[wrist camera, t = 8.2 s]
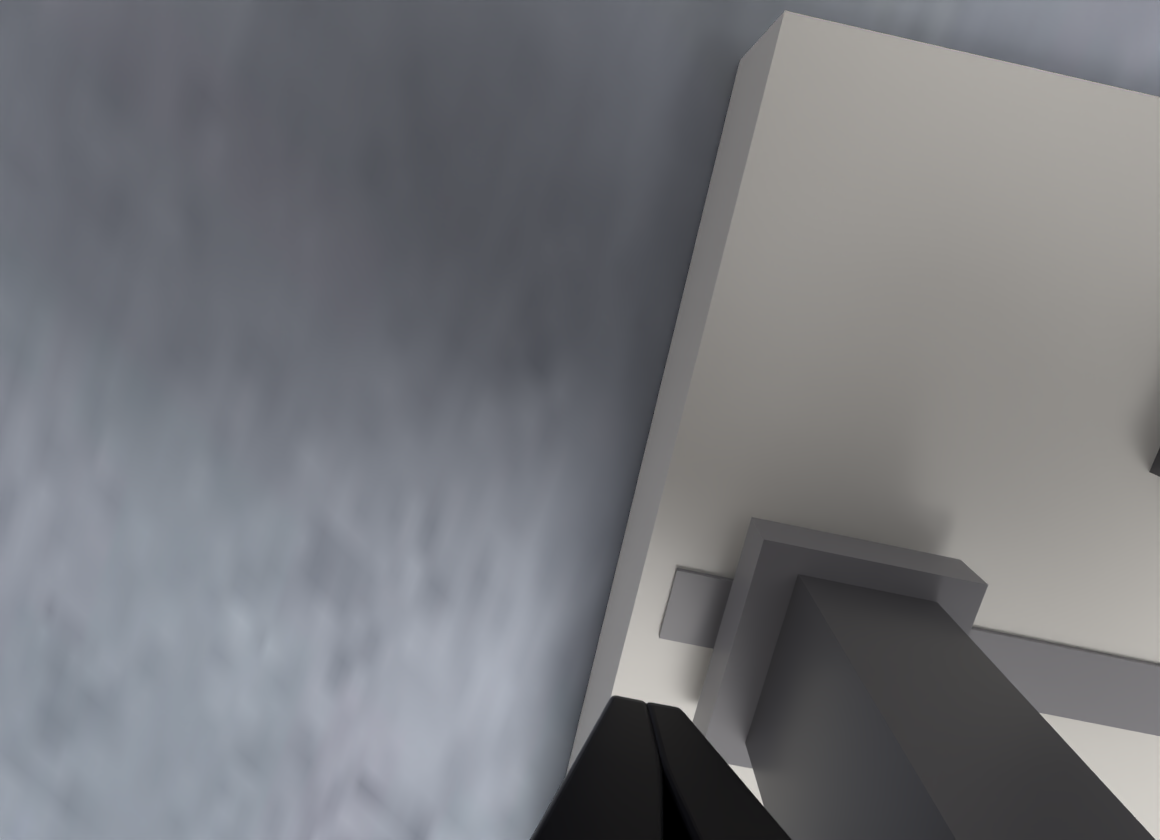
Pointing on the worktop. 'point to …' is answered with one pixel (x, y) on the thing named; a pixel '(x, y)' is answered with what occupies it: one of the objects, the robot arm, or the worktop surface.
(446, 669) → the worktop surface
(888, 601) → the handle
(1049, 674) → the panel
